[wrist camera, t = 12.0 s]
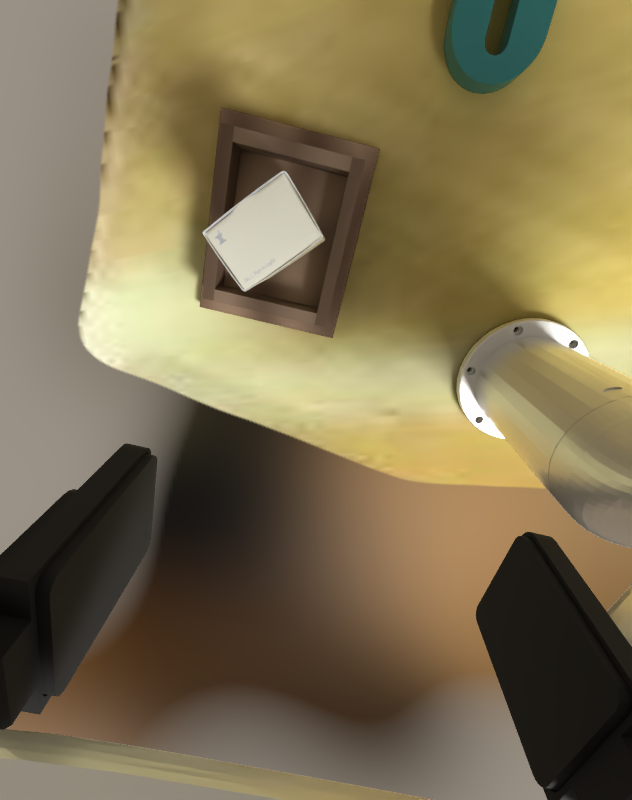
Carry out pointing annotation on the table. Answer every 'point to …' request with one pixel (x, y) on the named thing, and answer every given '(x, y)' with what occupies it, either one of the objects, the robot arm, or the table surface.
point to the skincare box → (264, 232)
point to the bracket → (516, 47)
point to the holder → (325, 198)
